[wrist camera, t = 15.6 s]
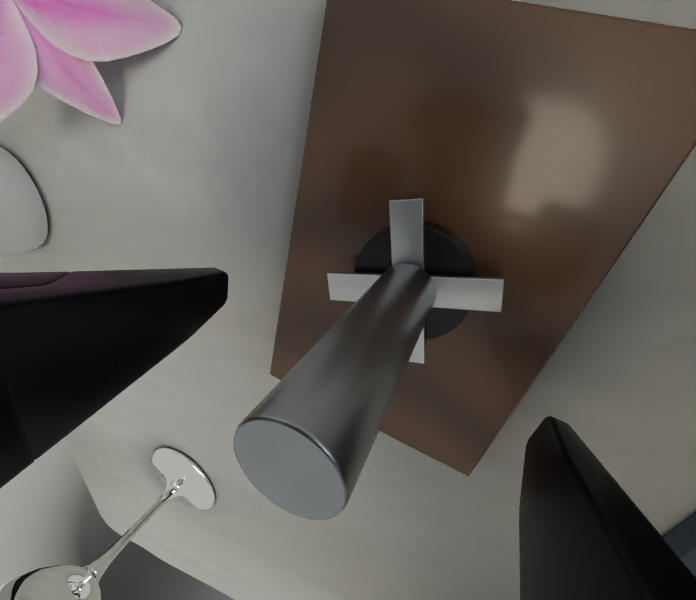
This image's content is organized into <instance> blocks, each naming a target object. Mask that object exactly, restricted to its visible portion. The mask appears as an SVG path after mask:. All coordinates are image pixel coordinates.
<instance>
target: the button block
mask: <svg viewBox="0 0 696 600" xmlns="http://www.w3.org/2000/svg"><path fill="white" fill-rule="evenodd" d="M663 539H664V540H665V541H666V542H667V543H668V545H669V546H670V547H671V548H672V549H673V551H674V552H675V553H676V554H677V555H678V557H679V558H680V559H681V560H682V561H683V563H684V564H685V565H686V566H687V567H688V569H689V570H690V571H691V572H692V574H693V575H694V576H695V577H696V513H695V514H694V515H693V516H691V517H690V518H688V519H687V520H686V521H684V522H683V523H682V524H680V525H679V526H677V527H676V528H675V529H673V530H672V531H671V532H669V533H668V534H666V535H665V536H664V537H663Z"/></svg>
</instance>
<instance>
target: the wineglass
mask: <svg viewBox="0 0 696 600" xmlns="http://www.w3.org/2000/svg"><path fill="white" fill-rule="evenodd" d="M152 462H153V467H154V469H155V472H156V474H157V475H158V477H159V479H160V480H161V482H162V483H163V484H164V486H165V490H164V491H163V493H162V495H161V496H160V497H159V499H158V500H157V501H156V502H155V503H154V504H153V505H152V506H151V507H150V508H149V509H148V510H147V511H146V512H145V513H144V514H143V515H142V516H141V518H140V519H139V520H138V521H137V522H136V523H135V524H134V525H133V526H132V527H131V528H130V529H129V530H128V531H127V532H126V533H125V534H124V535H123V536H122V537H121V538H120V539H119V540H118V541H117V542H116V543H115V544H114V545H113V546H112V547H111V548H109V549H108V550H107V551H106V552H105V553H104V554H102V555H101V556H100V557H99V558H98V559H96V560H95V561H94V562H92V563H91V564H89V565H88V566H84V567H83V568H81V567H78V566H74V565H57V566H50V567H44V568H38V569H35V570H33V571H30V572H27V573H24V574H22V575H19V576H17V577H15V578H13V579H12V580H10V581H8V582H6V583H4V584H3V585H1V586H0V600H101V592H100V588H99V585H98V582H99V580H100V577H101V576H102V574H103V573H104V571H105V570H106V568H107V567H108V565H109V564H110V563H111V562H112V561H113V559H114V558H115V557H116V555H117V554H118V553H119V552H120V551H121V550H122V549H123V548H124V547H125V545H126V544H127V543H128V542H129V541H130V540H131V539H132V538H133V537H134V536H135V535H136V534H137V533H138V531H139V530H140V529H141V528H142V527H143V526H144V525H145V524H146V523H147V522H148V521H149V520H150V519H151V518H152V517H153V516H154V515H155V514H156V513H157V511H158V510H159V509H160V508H161V507H162V506H163V505H164V504H166V503H167V502H168V501H170V500H171V499H173V498H175V497H176V498H178V499H179V500H180V501H182V502H183V503H185V504H186V505H188V506H190V507H193V508H195V509H199V510H207V509H209V508H211V507H212V506H213V504H214V502H215V494H214V490H213V487H212V485H211V483H210V481H209V480H208V478H207V477H206V475H205V474H204V473H203V471H202V470H201V469H200V468H199V467H198V466H197V465H196V464H195V463H194V462H193V461H192V460H191V459H189V458H188V457H187V456H185V455H184V454H182V453H180V452H178V451H176V450H174V449H171V448H165V447H163V448H159V449H157V450H156V451H155V452H154V453H153V457H152Z"/></svg>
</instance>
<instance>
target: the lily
mask: <svg viewBox="0 0 696 600" xmlns="http://www.w3.org/2000/svg"><path fill="white" fill-rule="evenodd" d="M181 28H182V27H181V25H180V24H179V22H178V21H177V19H176V18H175V17H174V16H172V15H171V14H170V13H168V12H167V11H166V10H164V9H163V8H162V7H160V6H159V5H157V4H156V3H154V2H153V1H151V0H0V122H1V121H2V120H4V119H5V118H6V117H8V116H9V115H10V114H12V113H13V112H14V111H15V110H17V109H18V108H19V107H20V106H21V105H22V104H23V103H24V102H25V101H26V100H27V99H28V97H29V96H30V94H31V93H32V91H33V90H34V88H35V84H36V85H37V86H38V87H40V88H42V89H43V90H45V91H46V92H48V93H50V94H51V95H53V96H55V97H56V98H58V99H60V100H61V101H63V102H65V103H67V104H69V105H71V106H73V107H75V108H77V109H78V110H80V111H82V112H85V113H87V114H89V115H91V116H93V117H95V118H98V119H100V120H102V121H105V122H108V123H111V124H114V125H120V124H121V118H120V115H119V112H118V110H117V107H116V105H115V103H114V101H113V99H112V96H111V94H110V92H109V90H108V88H107V86H106V84H105V82H104V81H103V79H102V77H101V75H100V73H99V71H98V70H97V68H96V66H95V64H94V63H93V61H105V62H107V61H112V60H117V59H121V58H126V57H129V56H133V55H136V54H139V53H142V52H146V51H149V50H151V49H153V48H156V47H158V46H161V45H163V44H166V43H167V42H169V41H171V40H172V39H174V38H175V37H177V36H178V35H179V33H180V30H181Z"/></svg>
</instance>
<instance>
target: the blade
mask: <svg viewBox="0 0 696 600" xmlns="http://www.w3.org/2000/svg"><path fill="white" fill-rule="evenodd" d="M389 209H390V226H389V227H387V228H385V229H384V230H382V231H381V232H379V233H378V234H376V235H375V236H374V237H372V238H371V239H370V240H369V241H368V242H367V243H366V244H365V246H364V247H363V248H362V250H361V251H360V253H359V255H358V257H357V260H356V263H355V267H354V272H328V273H327V277H328V286H329V294H330V300H339V301H353V302H355V303H354V304H353V306H352V307H351V308H350V309H349V310H348V311H347V312H346V313H345V314H344V315H343V316H342V317H341V318H340V319H339V320H338V321H337V322H336V323H335V324H334V325H333V327H332V328H331V329H330V330H329V331H328V332H327V333H326V334H325V335H324V336H323V337H322V338H321V339H320V340H319V341H318V342H317V343H316V344H315V345H314V346H313V347H312V349H311V350H310V351H309V352H308V353H307V354H306V355H305V356H304V357H303V358H302V359H301V360H300V361H299V362H298V363H297V364H296V365H295V366H294V367H293V368H292V369H291V371H290V372H289V373H288V374H287V375H286V376H285V377H284V378H283V379H282V380H281V381H280V382H279V383H278V384H277V385H276V386H275V387H274V388H273V389H272V390H271V391H270V393H269V394H268V395H267V396H266V397H265V398H264V399H263V400H262V401H261V402H260V403H259V404H258V405H257V406H256V407H255V408H254V409H253V410H252V411H251V412H250V413H249V415H248V416H247V417H246V418H245V419H244V420H243V421H242V422H241V423H240V424H239V426H238V428H237V430H236V432H235V436H234V451H235V455H236V458H237V461H238V463H239V465H240V467H241V469H242V471H243V472H244V474H245V475H246V477H247V478H248V479H249V481H250V482H251V483H252V484H253V485H254V487H255V488H256V489H257V490H258V491H259V492H260V493H261V494H263V495H264V496H265V497H266V498H267V499H269V500H270V501H271V502H273V503H274V504H275V505H277V506H279V507H280V508H282V509H284V510H286V511H287V512H289V513H292V514H294V515H296V516H300V517H303V518H307V519H313V520H325V519H330V518H332V517H334V516H336V515H338V514H339V513H340V512H341V511H342V510H343V509H344V508H345V506H346V505H347V503H348V500H349V498H350V496H351V493H352V491H353V489H354V487H355V484H356V482H357V480H358V477H359V475H360V473H361V470H362V468H363V466H364V463H365V461H366V459H367V457H368V454H369V452H370V450H371V447H372V445H373V443H374V440H375V438H376V436H377V433H378V431H379V429H380V427H381V424H382V422H383V420H384V417H385V415H386V413H387V410H388V408H389V406H390V403H391V401H392V399H393V397H394V394H395V392H396V390H397V387H398V385H399V383H400V380H401V378H402V376H403V373H404V371H405V369H406V367H407V364H408V362H415V363H422V364H424V363H425V340H427V339H433V338H436V337H439V336H442V335H444V334H446V333H448V332H450V331H451V330H453V329H454V328H455V327H457V326H458V325H459V324H460V323H461V322H462V321H463V320H464V318H465V317H466V316H467V314H468V312H469V311H470V310H478V311H492V312H501V311H502V299H503V287H504V278H502V277H477V272H476V266H475V263H474V260H473V257H472V255H471V253H470V251H469V249H468V248H467V246H466V245H465V243H464V242H463V241H462V240H461V239H460V238H459V237H458V236H457V235H456V234H454V233H453V232H452V231H450V230H449V229H447V228H445V227H443V226H441V225H439V224H436V223H433V222H429V221H424V198H416V199H398V200H390V201H389Z"/></svg>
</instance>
